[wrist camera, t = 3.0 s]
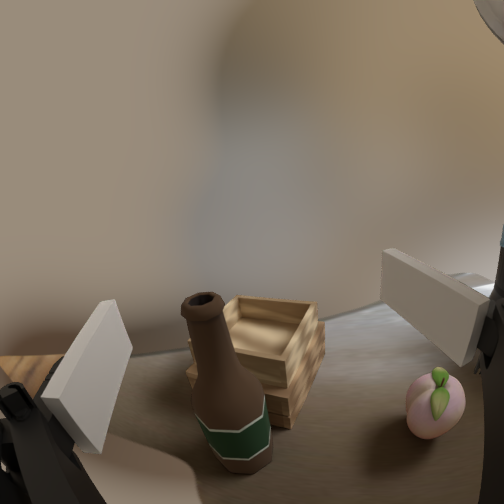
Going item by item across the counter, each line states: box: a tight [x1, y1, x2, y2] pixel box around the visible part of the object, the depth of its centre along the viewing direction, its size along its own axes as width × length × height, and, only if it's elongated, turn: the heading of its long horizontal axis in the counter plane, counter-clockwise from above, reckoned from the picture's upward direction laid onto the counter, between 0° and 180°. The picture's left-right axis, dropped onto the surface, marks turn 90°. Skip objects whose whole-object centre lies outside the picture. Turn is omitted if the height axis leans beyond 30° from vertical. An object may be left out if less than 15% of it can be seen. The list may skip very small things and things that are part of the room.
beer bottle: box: [181, 292, 273, 474], centre depth 26 cm, size 8×8×24 cm
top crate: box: [188, 295, 318, 388], centre depth 42 cm, size 15×15×5 cm
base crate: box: [186, 321, 325, 429], centre depth 43 cm, size 18×16×7 cm
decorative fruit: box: [406, 367, 465, 439], centre depth 26 cm, size 9×8×10 cm
